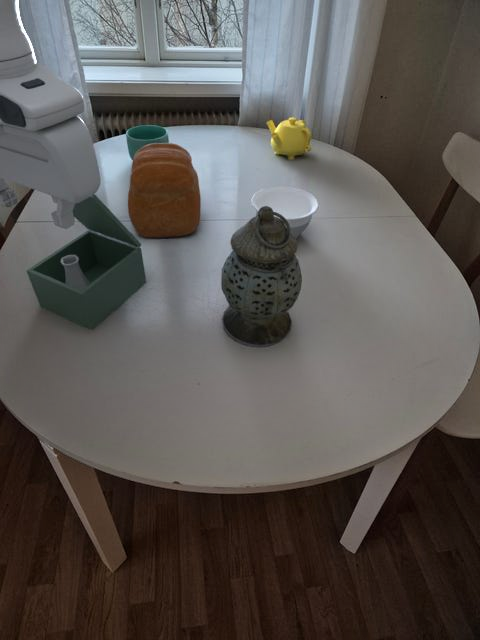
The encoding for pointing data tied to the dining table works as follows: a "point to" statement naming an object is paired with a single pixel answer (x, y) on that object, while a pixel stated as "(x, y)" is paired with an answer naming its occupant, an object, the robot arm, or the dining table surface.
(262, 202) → the bowl
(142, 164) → the bread
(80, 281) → the flask
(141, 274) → the chest
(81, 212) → the chest lid
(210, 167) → the dining table surface
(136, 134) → the mug
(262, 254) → the lantern
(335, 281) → the dining table surface
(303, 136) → the teapot
